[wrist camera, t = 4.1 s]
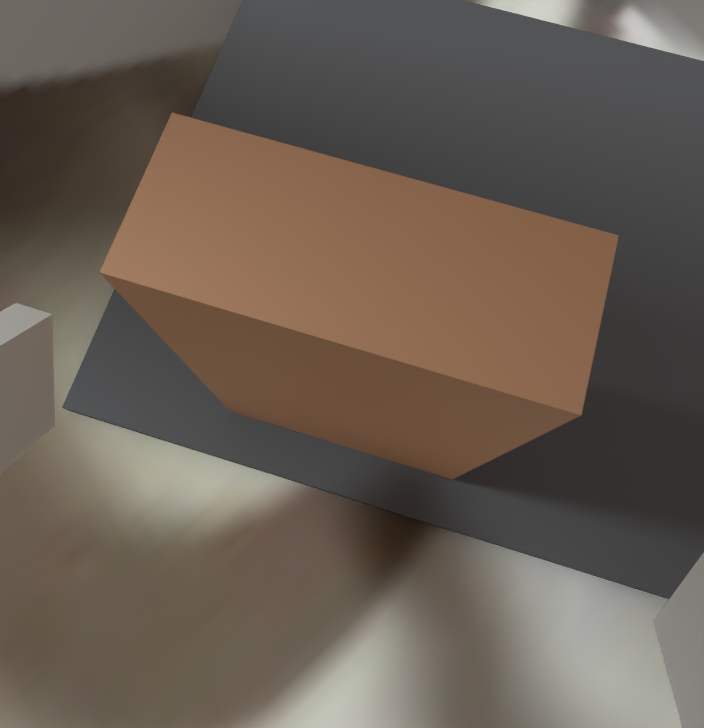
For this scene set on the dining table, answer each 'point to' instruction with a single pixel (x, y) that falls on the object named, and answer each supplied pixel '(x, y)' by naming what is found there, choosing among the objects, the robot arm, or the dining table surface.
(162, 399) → the rubber mat
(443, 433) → the card deck box
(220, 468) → the dining table surface
